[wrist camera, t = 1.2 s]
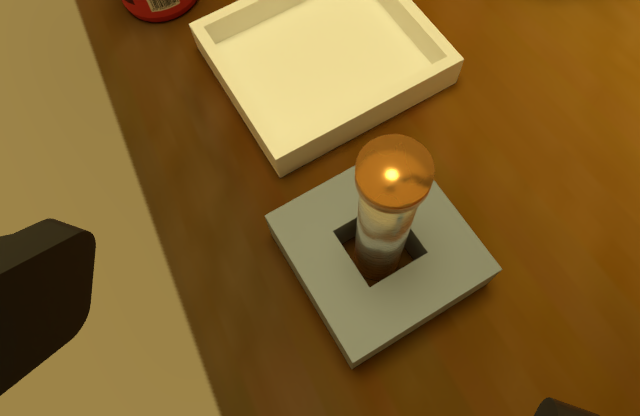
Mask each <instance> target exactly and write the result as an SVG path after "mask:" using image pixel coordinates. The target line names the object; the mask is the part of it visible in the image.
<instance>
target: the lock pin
mask: <svg viewBox="0 0 640 416" xmlns="http://www.w3.org/2000/svg"><path fill="white" fill-rule="evenodd" d="M434 177H435V165H434V161H433V158H432V156H431V154H430V153H429V151H428V150H427V149H426V148H425V146H423V145H422V144H421V143H420V142H418V141H417V140H415V139H413V138H411V137H408V136H405V135H400V134H387V135H382V136H379V137H377V138H375V139H373V140H371V141H369V142H368V143H367V144H366V145H365V146H364V147H363V148H362V149H361V151H360V152H359V154H358V156H357V159H356V164H355V186H356V189H357V192H358V194H359V202H358V215H357V228H356V241H355V254H354V262H355V265H356V267H357V269H358V271H359V272H360V273H361V274H362V275H363V276H364V277H366V278H368V279H371V280H382V279H385V278H386V277H388V276H390V275H391V274H393V273H394V271H395V270H396V268H397V265H398V263H399V260H400V257H401V254H402V251H403V248H404V245H405V242H406V240H407V237H408V234H409V231H410V228H411V225H412V222H413V219H414V216H415V214H416V211H417V208H418V206H419V205H420V204H421V203H423V201H424V200H425V199H426V197H427V196H428V193H429V191H430V189H431V186H432V183H433V180H434Z"/></svg>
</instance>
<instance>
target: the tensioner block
mask: <svg viewBox="0 0 640 416" xmlns="http://www.w3.org/2000/svg"><path fill="white" fill-rule="evenodd" d="M358 202H359V194H358V192H357V189H356V186H355V166H353V167H352V168H350V169H348V170H346V171H344V172H343V173H341V174H339V175H337V176H335V177H334V178H332V179H330V180H328V181H326V182H324V183H323V184H321V185H319V186H317V187H315V188H314V189H312V190H310V191H308V192H306V193H305V194H303V195H301V196H299V197H297V198H296V199H294V200H292V201H290V202H288V203H286V204H285V205H283V206H281V207H279V208H277V209H276V210H274V211H272V212H270V213H268V214H267V215H265V218H266V221H267V224H268V227H269V229H270V232H271V235H272V236H273V238H274V240H275V242H276V243H277V245H278V247H279V248H280V250H281V252H282V253H283V255H284V257H285V258H286V260H287V262H288V263H289V265H290V267H291V268H292V270H293V272H294V273H295V275H296V277H297V279H298V280H299V282H300V284H301V285H302V287H303V289H304V290H305V292H306V294H307V295H308V297H309V299H310V300H311V302H312V304H313V305H314V307H315V309H316V310H317V312H318V314H319V316H320V317H321V319H322V321H323V322H324V324H325V326H326V327H327V329H328V331H329V332H330V334H331V336H332V337H333V339H334V341H335V342H336V344H337V346H338V347H339V349H340V351H341V353H342V354H343V356H344V358H345V359H346V361H347V363H348V364H349V366H350V368H351V369H353V368H355V367H356V366H358V365H360V364H361V363H363V362H364V361H366V360H368V359H369V358H371V357H372V356H374V355H376V354H377V353H379V352H380V351H382V350H383V349H385V348H387V347H388V346H390V345H391V344H393V343H395V342H396V341H398V340H399V339H401V338H402V337H404V336H406V335H407V334H409V333H410V332H412V331H414V330H415V329H417V328H418V327H420V326H421V325H423V324H425V323H426V322H428V321H429V320H431V319H433V318H434V317H436V316H437V315H439V314H441V313H442V312H444V311H445V310H447V309H448V308H450V307H452V306H453V305H455V304H456V303H458V302H460V301H461V300H463V299H464V298H466V297H467V296H469V295H471V294H472V293H474V292H475V291H477V290H479V289H480V288H482V287H483V286H485V285H486V284H488V283H489V282H490V281H491V280H492V279H493V278H494V277H495V276H496V275H497V274H498V273H499V272H500V271H501V270H502V268H501V267H500V266H499V264H498V263H497V262H496V260H495V259H494V258H493V257H492V255H491V254H490V253H489V251H488V250H487V249H486V247H485V246H484V245H483V244H482V242H481V241H480V240H479V238H478V237H477V236H476V234H475V233H474V232H473V231H472V229H471V228H470V227H469V225H468V224H467V223H466V221H465V220H464V219H463V218H462V216H461V215H460V214H459V212H458V211H457V210H456V208H455V207H454V206H453V204H452V203H451V202H450V201H449V199H448V198H447V197H446V195H445V194H444V193H443V191H442V190H441V189H440V188H439V186H438V185H437V184H436V182H435V181H434V180H433V183H432V186H431V189H430V191H429V193H428V196H427V197H426V199H425V200H424V201H423V203H421V204H420V205H419V206H418V208H417V211H416V214H415V216H414V219H413V222H412V225H411V228H410V231H409V234H408V237H407V240H406V242H405V245H404V247H405V248H406V250H407V251H408V253H409V254H410V255H411V257H412V258H413V260H414V261H413V262H411V263H410V264H408V265H406V266H405V267H403V268H401V269H400V270H398V271H396V272H395V273H393V274H391V275H390V276H388V277H386V278H385V279H383V280H381V281H380V282H378V283H376V284H375V285H373V286H371V287H370V288H369V286H368V284H367V283H366V281H365V280H364V278H363V277H362V275H361V274H360V272H359V271H358V269H357V267H356V266H355V264H354V263H353V261H352V260H351V258H350V257H349V255H348V254H347V252H346V251H345V249H344V247H343V246H342V244H343V243H345V242H346V241H348V240H350V239H351V238H353V237H355V236H356V228H357V215H358Z"/></svg>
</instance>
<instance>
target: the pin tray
mask: <svg viewBox="0 0 640 416" xmlns="http://www.w3.org/2000/svg"><path fill="white" fill-rule="evenodd" d="M189 26H190V29H191V31H192V34H193V37H194V39H195V42H196V45H197V47H198V49H199V51H200V52H201V54H202V56H203V57H204V59H205V60H206V62H207V64H208V65H209V67H210V68H211V70H212V71H213V73H214V75H215V76H216V78H217V79H218V81H219V83H220V84H221V86H222V87H223V89H224V90H225V92H226V94H227V95H228V97H229V98H230V100H231V102H232V103H233V105H234V106H235V108H236V109H237V111H238V113H239V114H240V116H241V117H242V119H243V121H244V122H245V124H246V125H247V127H248V128H249V130H250V132H251V133H252V135H253V136H254V138H255V139H256V141H257V143H258V144H259V146H260V147H261V149H262V151H263V152H264V154H265V155H266V157H267V158H268V160H269V162H270V163H271V165H272V166H273V168H274V170H275V171H276V173H277V174H278V176H279V177H280V178H281V177H283V176H285V175H287V174H289V173H291V172H292V171H294V170H296V169H298V168H300V167H302V166H304V165H305V164H307V163H309V162H311V161H313V160H315V159H316V158H318V157H320V156H322V155H324V154H326V153H327V152H329V151H331V150H333V149H335V148H337V147H339V146H340V145H342V144H344V143H346V142H348V141H350V140H351V139H353V138H355V137H357V136H359V135H361V134H363V133H364V132H366V131H368V130H370V129H372V128H374V127H375V126H377V125H379V124H381V123H383V122H385V121H387V120H388V119H390V118H392V117H394V116H396V115H398V114H399V113H401V112H403V111H405V110H407V109H409V108H411V107H412V106H414V105H416V104H418V103H420V102H422V101H423V100H425V99H427V98H429V97H431V96H433V95H434V94H436V93H438V92H440V91H442V90H444V89H446V88H447V87H449V86H451V85H453V84H455V83H456V82H457V79H458V76H459V73H460V70H461V67H462V64H463V61H464V59H463V57H462V56H461V55H460V54H459V53H458V52H457V51H456V50H455V48H454V47H453V46H452V45H451V44H450V43H449V42H448V41H447V39H446V38H445V37H444V36H443V35H442V34H441V33H440V32H439V30H438V29H437V28H436V27H435V26H434V25H433V24H432V23H431V21H430V20H429V19H428V18H427V17H426V16H425V15H424V14H423V12H422V11H421V10H420V9H419V8H418V7H417V6H416V5H415V3H414V2H413V1H412V0H239V1H237V2H234V3H232V4H230V5H228V6H226V7H224V8H222V9H219V10H217V11H215V12H213V13H211V14H209V15H207V16H205V17H202V18H200V19H198V20H196V21H194V22H192V23H190V24H189Z"/></svg>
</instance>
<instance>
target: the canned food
mask: <svg viewBox="0 0 640 416" xmlns="http://www.w3.org/2000/svg"><path fill="white" fill-rule="evenodd" d="M196 1H197V0H122V2H123V4H124V6H125V7H126V8H127V9H128V10H129V11H130V12H131V13H132V14H133V15H134V16H136V17H137V18H139V19H141V20H144V21H149V22H163V21H168V20H172V19H175V18H177V17H179V16H181V15H182V14H184V13H186V12H187V11H188V10H189V9H190V8H191V7H192V6H193V5H194V4H195V2H196Z"/></svg>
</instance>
